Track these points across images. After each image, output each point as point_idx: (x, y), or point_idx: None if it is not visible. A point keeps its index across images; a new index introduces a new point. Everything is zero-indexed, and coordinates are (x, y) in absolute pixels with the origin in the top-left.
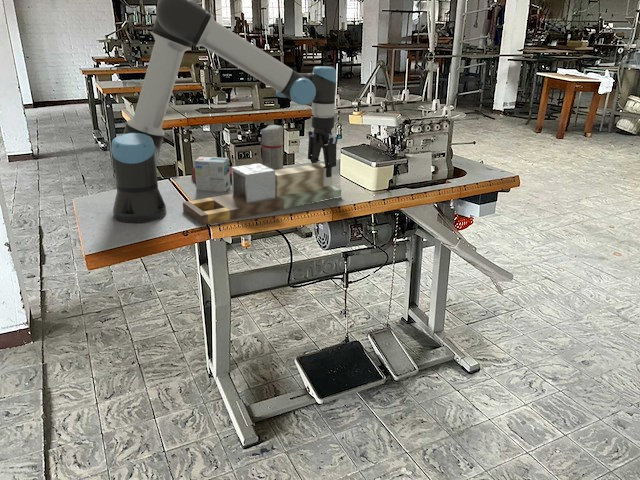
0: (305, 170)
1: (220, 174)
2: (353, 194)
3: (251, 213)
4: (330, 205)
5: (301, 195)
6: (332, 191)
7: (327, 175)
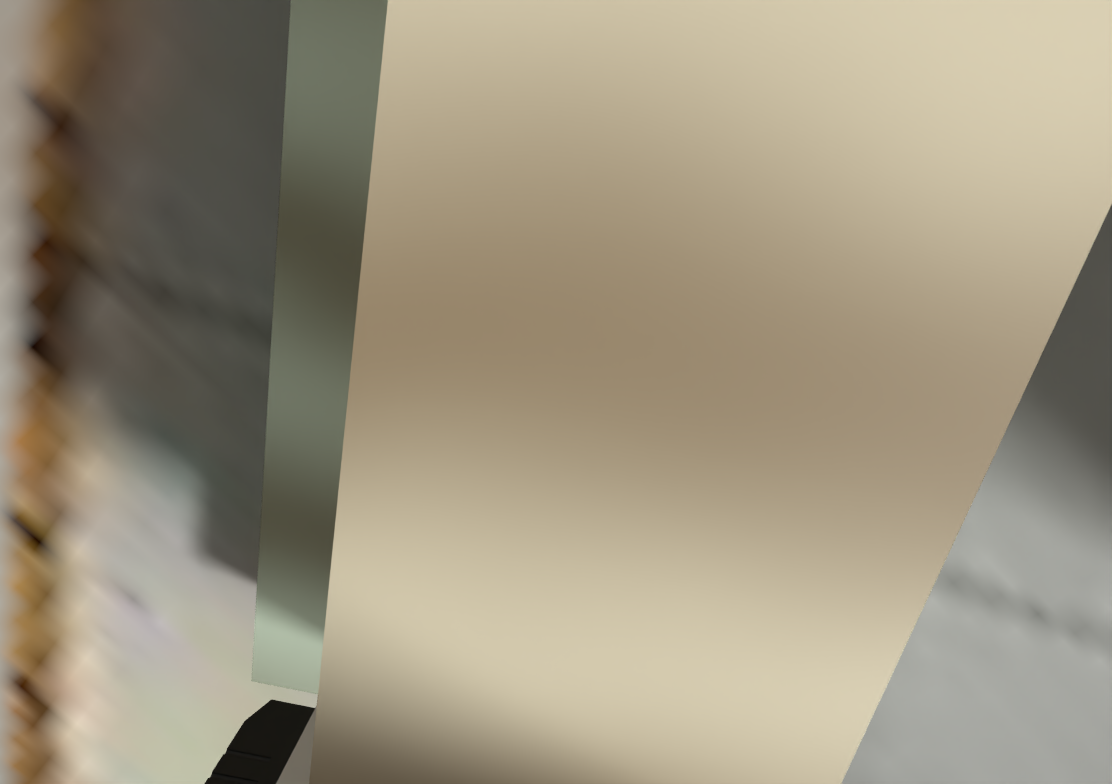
0: (441, 362)
1: None
2: None
3: None
4: (147, 321)
5: (357, 7)
6: (260, 553)
7: (260, 731)
